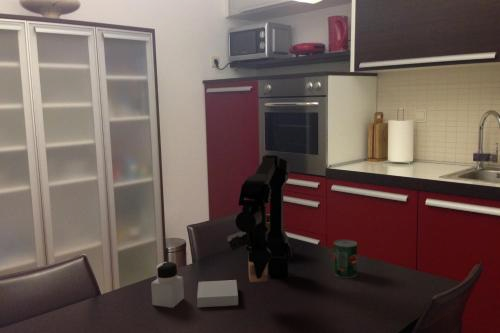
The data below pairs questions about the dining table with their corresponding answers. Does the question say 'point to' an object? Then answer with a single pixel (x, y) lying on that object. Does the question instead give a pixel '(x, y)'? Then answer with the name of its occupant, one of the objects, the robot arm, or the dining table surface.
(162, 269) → the medicine bottle
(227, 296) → the grey base
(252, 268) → the terracotta cube
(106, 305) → the dining table surface
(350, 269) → the canned tomato
